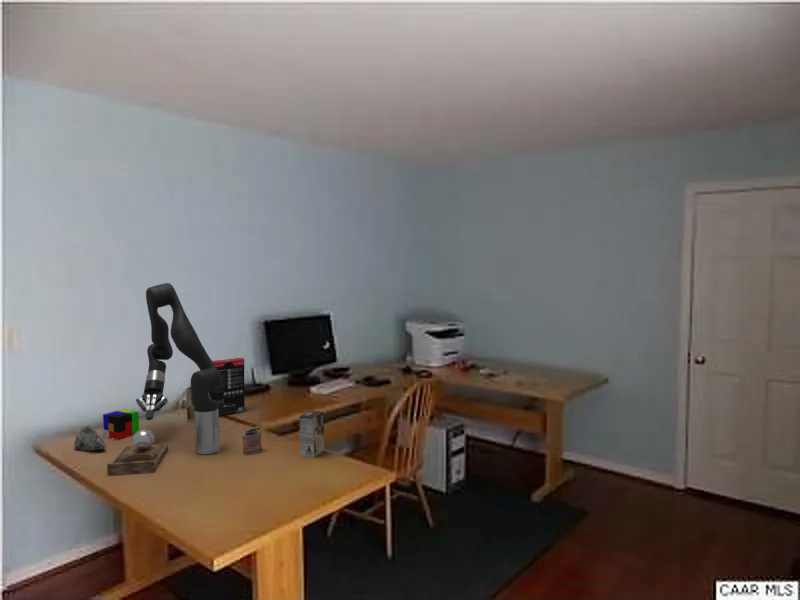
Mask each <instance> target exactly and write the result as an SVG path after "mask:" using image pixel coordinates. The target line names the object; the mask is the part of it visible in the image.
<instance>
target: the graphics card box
mask: <svg viewBox="0 0 800 600" xmlns="http://www.w3.org/2000/svg"><path fill="white" fill-rule="evenodd" d="M212 362H213V363H214V365H215V366H216V368H217V369H218V371H219V372H220V375H221V377H222V385H221V387H220V388H219V389H218V390H215V391H211V392H210V399H212V400H216V401H217V402H218V416H219V417H220V416H229V415H234V414H239V413H244V412H245V408H246V405H245V396H246V395H245V358H243V357H236V358H235V357H234V358H225V359H219V360H212Z"/></svg>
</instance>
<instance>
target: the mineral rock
mask: <svg viewBox="0 0 800 600" xmlns="http://www.w3.org/2000/svg"><path fill="white" fill-rule="evenodd" d="M73 447H74V449H75V450H81V451H91V450H92V451H99V450H105V449H106V448H107V446H106V444H105V441H104V439H103V438H102V437H101V436H100V435H98V434H97V432H96V430H95V429H94V427H91V426H90V425H87V426H81V427H80V428H79V430H78V431H77V434H76V436H75V440H74V446H73Z"/></svg>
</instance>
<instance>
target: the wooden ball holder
mask: <svg viewBox="0 0 800 600" xmlns="http://www.w3.org/2000/svg"><path fill="white" fill-rule="evenodd" d="M168 451H169V444H168V443H164V444H163V443H162V444H153V445H152V446H151V447H150V448H148V449H146V450H139V449H137V448H135V447H134V445H132V446H131V445H130V446H125V447H124V448H123V449H122V450H121V452H119V454H118V455H117V457H116V458H115V459H114V460H113V461H112V463H107V465H106V469H107V470H106V471H107V476H117V475H119V476H120V475H121V476H122V475H132V474H133V475H134V473H135V474H147V473H146V472H150V473H155V472H156V471H155V470H157V468H159V465H160V464H161V463H162V460H164V458H165V456H166V454H167V452H168Z"/></svg>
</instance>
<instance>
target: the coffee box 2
mask: <svg viewBox="0 0 800 600" xmlns="http://www.w3.org/2000/svg"><path fill="white" fill-rule="evenodd" d="M324 415H325V414H324V411H320V410H319V411H318V410H317V411H316V410H309V411H307V412H305V413H304V414H301V415H300V416H299V444H300V445H299V448H300V450H299V451H300V452H299V453H300V454H299V455H300V456H301V457H309V458H315V457H316V456H318V455H319V454H321V453H322V452H324V451H325V426H324V425H325V423H324V422H325V419H324V418H325V417H324Z"/></svg>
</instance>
